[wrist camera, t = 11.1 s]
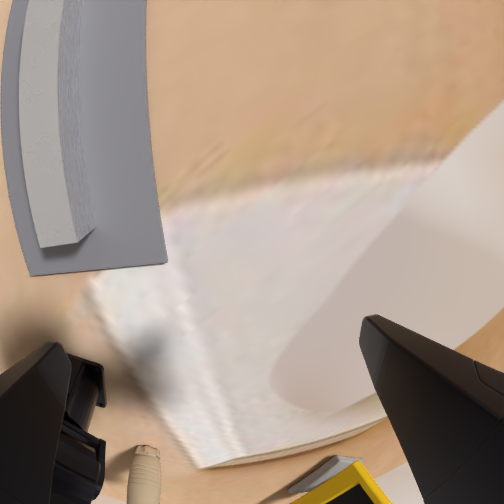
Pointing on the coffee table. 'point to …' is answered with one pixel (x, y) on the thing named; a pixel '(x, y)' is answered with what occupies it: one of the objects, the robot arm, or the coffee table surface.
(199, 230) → the coffee table surface
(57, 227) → the rail
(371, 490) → the yellow framed monitor
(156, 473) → the handle
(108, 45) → the mat
